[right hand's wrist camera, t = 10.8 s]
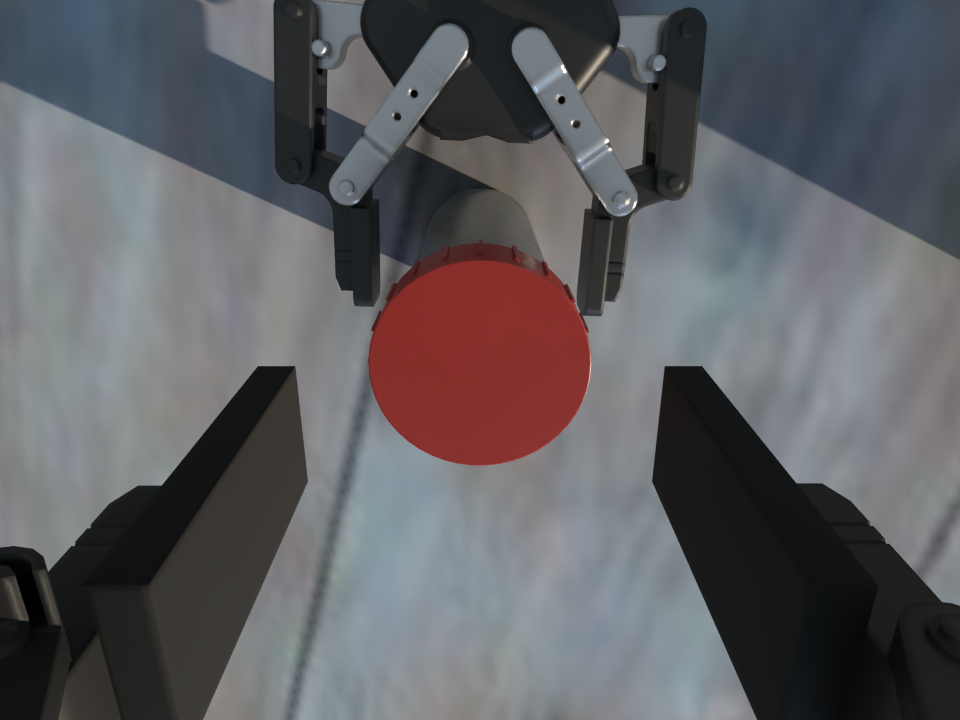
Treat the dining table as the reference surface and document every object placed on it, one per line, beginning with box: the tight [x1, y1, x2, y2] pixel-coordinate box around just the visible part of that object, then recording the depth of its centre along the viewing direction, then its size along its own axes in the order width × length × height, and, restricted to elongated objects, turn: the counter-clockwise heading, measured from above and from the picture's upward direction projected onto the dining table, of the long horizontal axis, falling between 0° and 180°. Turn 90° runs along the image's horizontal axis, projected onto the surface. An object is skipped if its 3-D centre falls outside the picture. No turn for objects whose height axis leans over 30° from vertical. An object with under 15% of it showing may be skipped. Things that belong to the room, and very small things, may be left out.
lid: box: [368, 240, 592, 465], centre depth 18 cm, size 6×6×2 cm
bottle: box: [416, 188, 544, 263], centre depth 24 cm, size 5×5×15 cm
